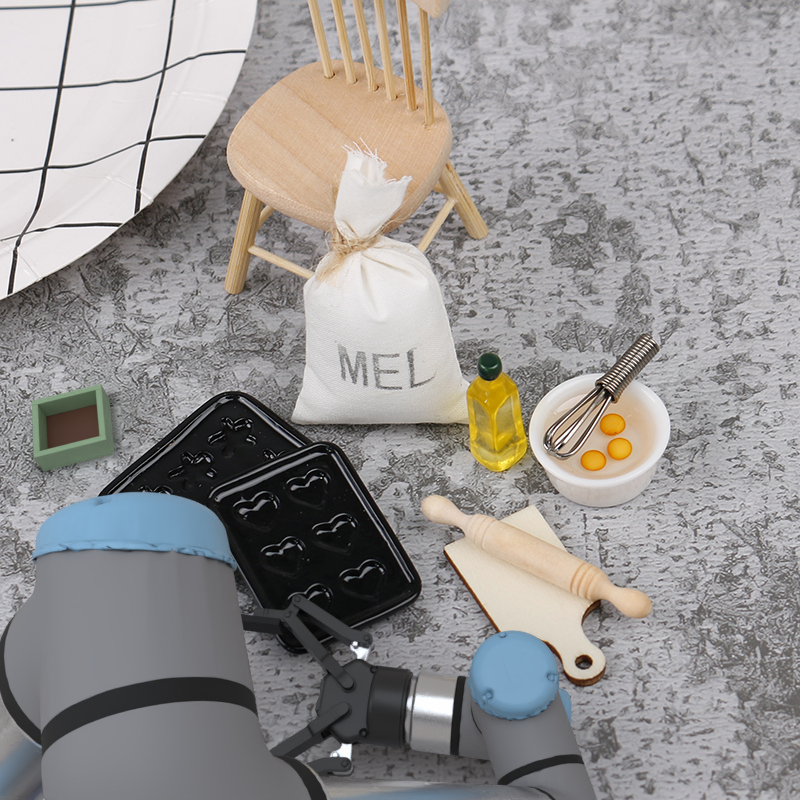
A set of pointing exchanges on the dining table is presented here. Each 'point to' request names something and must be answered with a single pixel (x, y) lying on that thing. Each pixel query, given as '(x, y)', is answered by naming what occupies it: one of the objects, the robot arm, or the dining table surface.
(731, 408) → the dining table surface
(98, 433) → the holder
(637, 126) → the dining table surface
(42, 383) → the dining table surface
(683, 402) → the dining table surface
